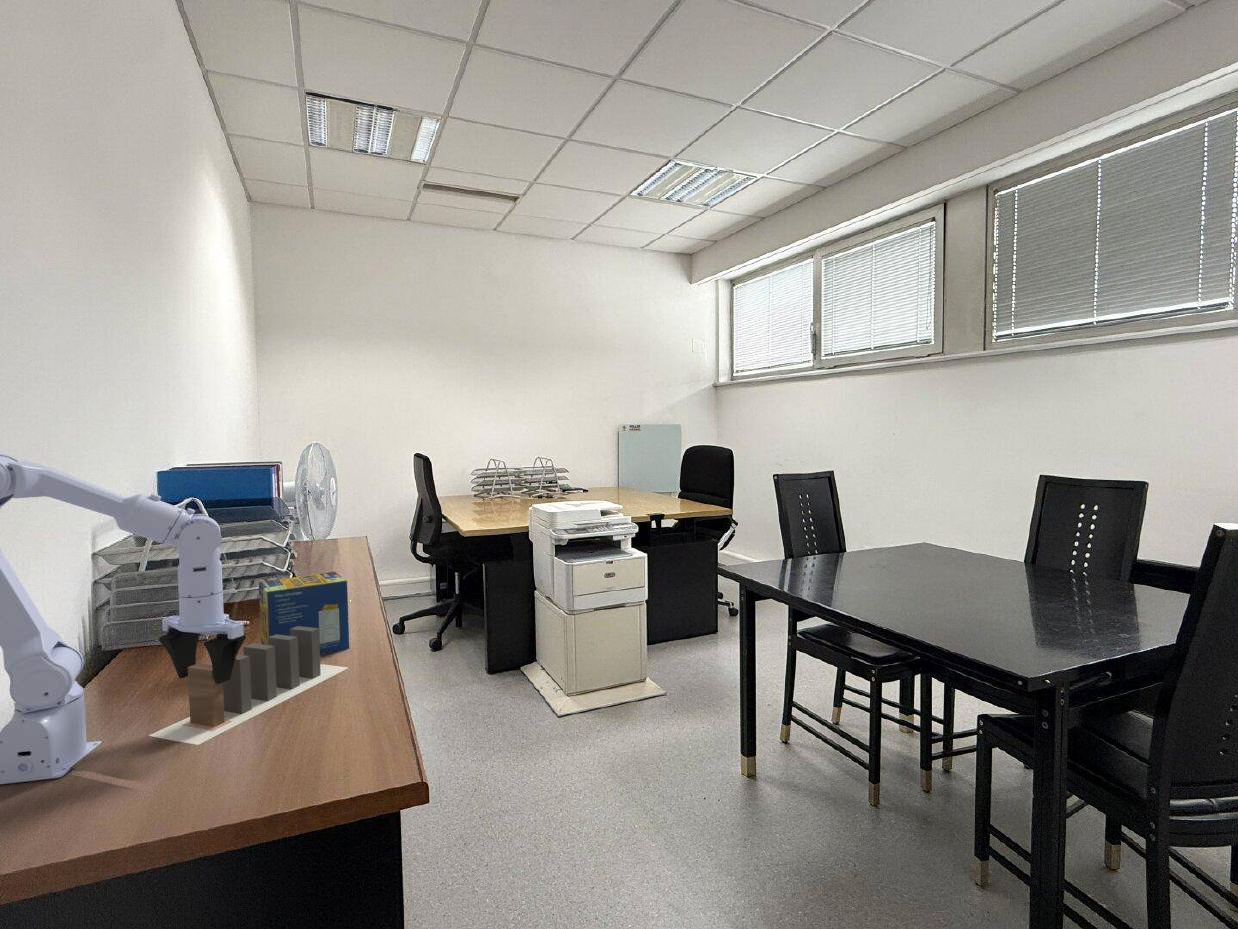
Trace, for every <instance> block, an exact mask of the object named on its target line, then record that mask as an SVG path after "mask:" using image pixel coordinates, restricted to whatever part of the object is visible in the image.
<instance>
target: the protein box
mask: <svg viewBox="0 0 1238 929" xmlns="http://www.w3.org/2000/svg"><path fill="white" fill-rule="evenodd" d="M348 593H349V592H348V580H346V579H345V578H343V577H342V576H341V575H339V574H338V573H337V571H329V572H322V573H313V574H309V575H308V574H307V575H301V576H295V577H293V576H292V577H287V578H280V579H274V580H265V581H260V582H259V581H258V594H259V616H260V642H261V643H260V644H262V645H268V637H270V636H273V635H276V634H277V635H286V636H290V629H291V628H294V627H297V626H301V627H311V628H319V645H320V656H321V655H325V654H330V653H331V654H332V653H335V652H340V651H345V650H349V649H350V630H349V629H350V628H349V627H350V626H349V599H348V598H349V597H348V596H349V595H348Z"/></svg>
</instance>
